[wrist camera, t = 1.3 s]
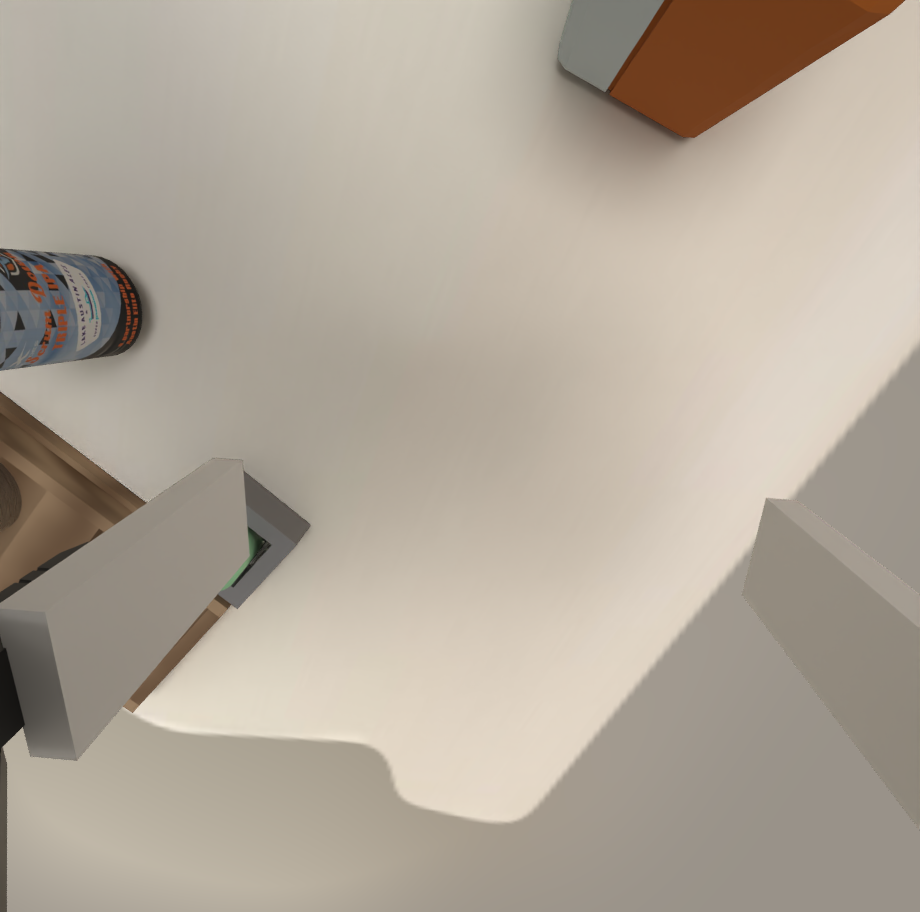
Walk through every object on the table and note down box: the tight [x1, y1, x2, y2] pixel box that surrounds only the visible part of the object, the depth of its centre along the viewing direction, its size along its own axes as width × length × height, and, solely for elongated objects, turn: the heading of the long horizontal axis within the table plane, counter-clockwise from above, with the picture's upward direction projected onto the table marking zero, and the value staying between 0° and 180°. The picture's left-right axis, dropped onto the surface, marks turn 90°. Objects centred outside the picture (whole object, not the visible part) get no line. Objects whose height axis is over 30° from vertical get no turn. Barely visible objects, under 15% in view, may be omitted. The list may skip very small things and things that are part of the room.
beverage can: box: [0, 249, 142, 371], centre depth 30 cm, size 6×7×12 cm
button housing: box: [218, 471, 310, 609], centre depth 39 cm, size 7×7×3 cm
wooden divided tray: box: [0, 392, 231, 713], centre depth 40 cm, size 24×14×3 cm, turn 47°
